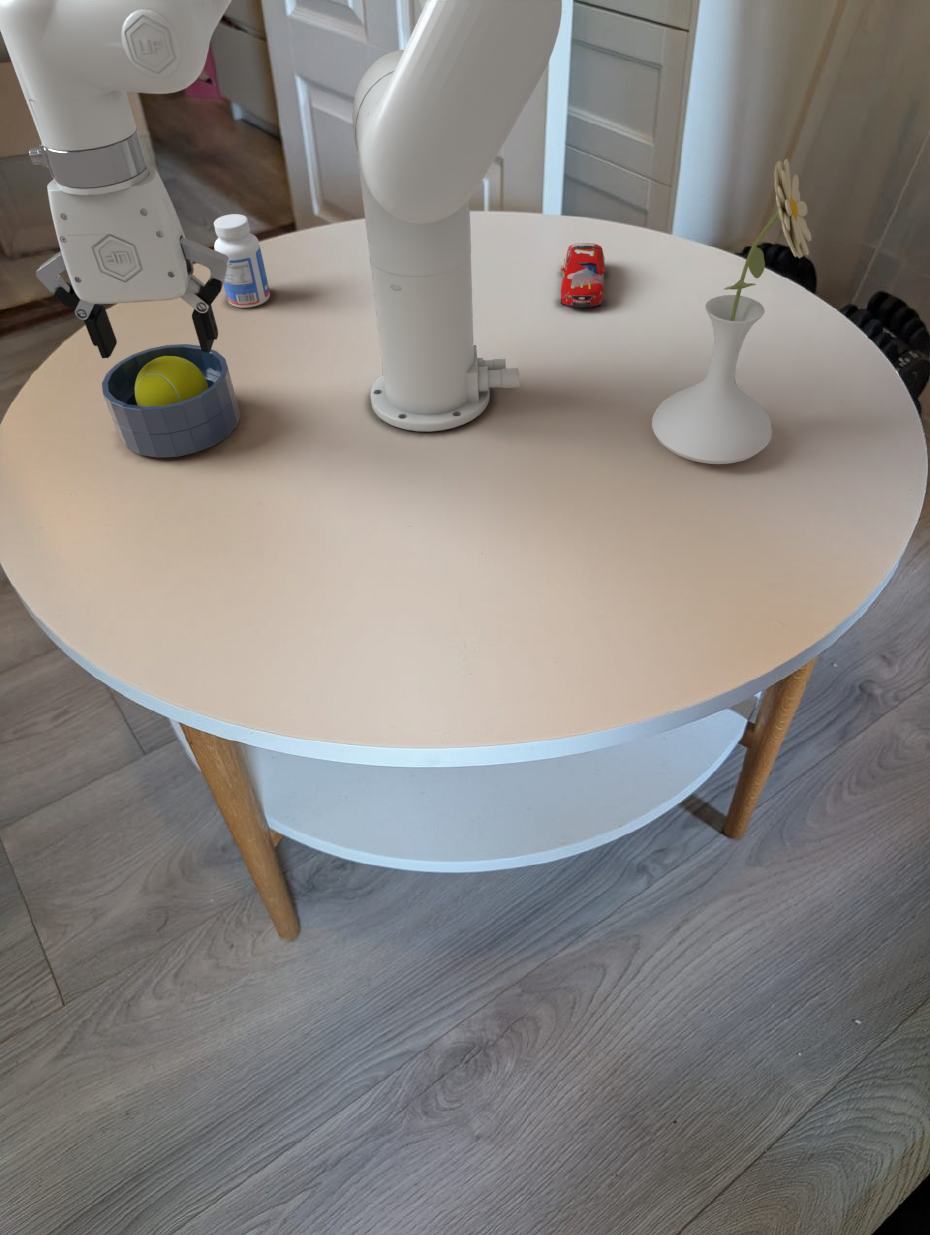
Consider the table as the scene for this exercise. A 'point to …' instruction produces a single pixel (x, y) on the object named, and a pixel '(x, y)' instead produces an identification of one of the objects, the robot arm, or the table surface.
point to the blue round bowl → (172, 406)
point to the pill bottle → (241, 262)
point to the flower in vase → (731, 359)
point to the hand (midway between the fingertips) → (159, 348)
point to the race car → (583, 275)
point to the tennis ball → (168, 382)
